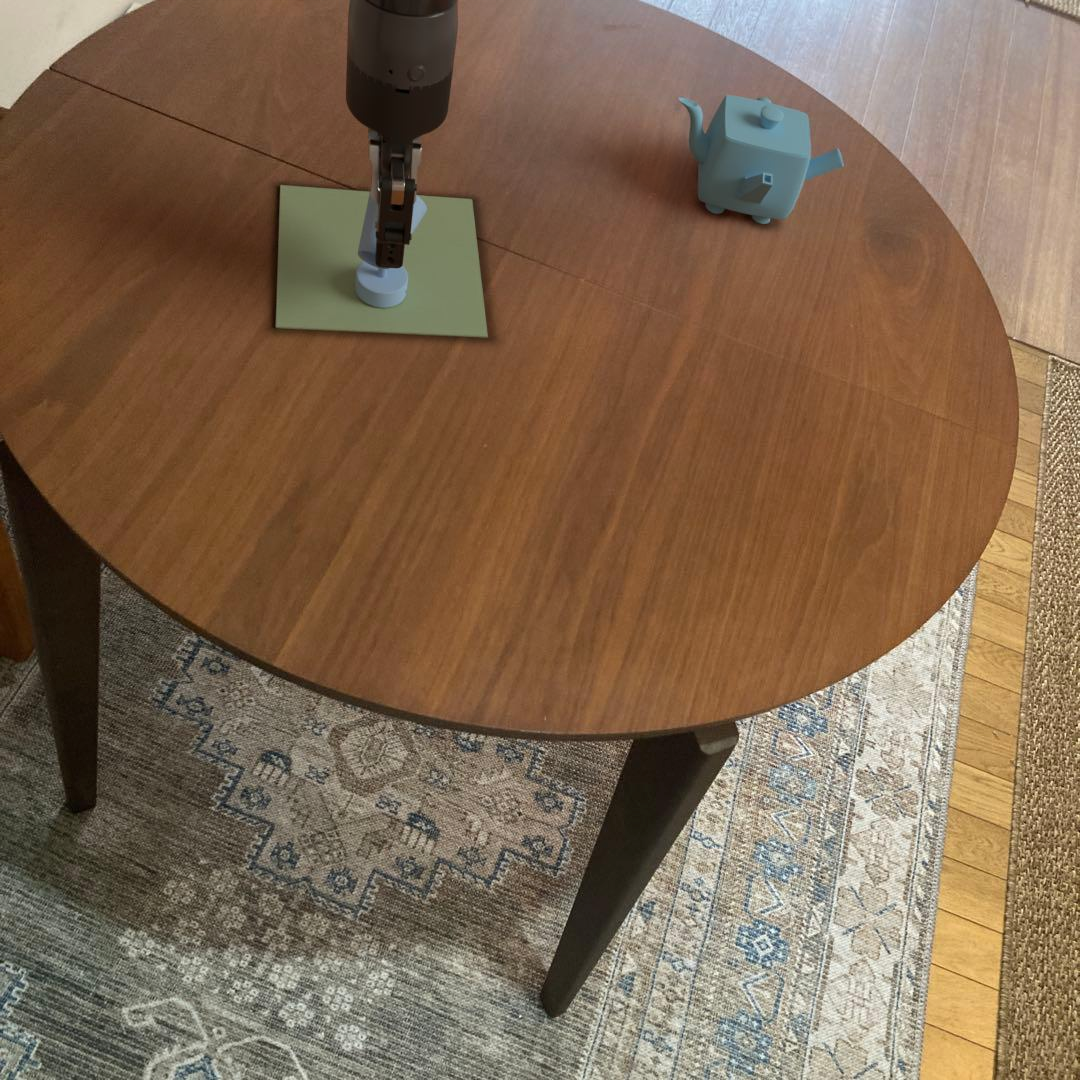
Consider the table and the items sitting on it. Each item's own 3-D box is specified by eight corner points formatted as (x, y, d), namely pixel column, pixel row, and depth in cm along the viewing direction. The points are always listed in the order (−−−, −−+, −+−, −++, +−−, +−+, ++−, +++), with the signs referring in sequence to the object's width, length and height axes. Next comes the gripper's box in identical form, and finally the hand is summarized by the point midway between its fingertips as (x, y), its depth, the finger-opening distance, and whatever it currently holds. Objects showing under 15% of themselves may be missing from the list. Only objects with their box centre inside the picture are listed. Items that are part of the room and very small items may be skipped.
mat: (275, 328, 87) (275, 326, 87) (280, 186, 97) (280, 184, 96) (487, 337, 91) (487, 336, 91) (471, 200, 100) (472, 199, 100)
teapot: (815, 178, 113) (855, 95, 104) (822, 264, 105) (865, 182, 96) (655, 141, 111) (683, 53, 103) (649, 226, 103) (678, 139, 95)
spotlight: (371, 252, 94) (341, 301, 90) (377, 159, 85) (344, 208, 81) (422, 270, 93) (395, 320, 90) (433, 179, 85) (404, 229, 81)
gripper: (346, -14, 76) (341, 173, 90) (348, 107, 69) (342, 291, 82) (448, -2, 78) (428, 180, 91) (460, 118, 70) (436, 297, 84)
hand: (387, 232), depth 87 cm, fingers closed on spotlight, 7 cm apart
